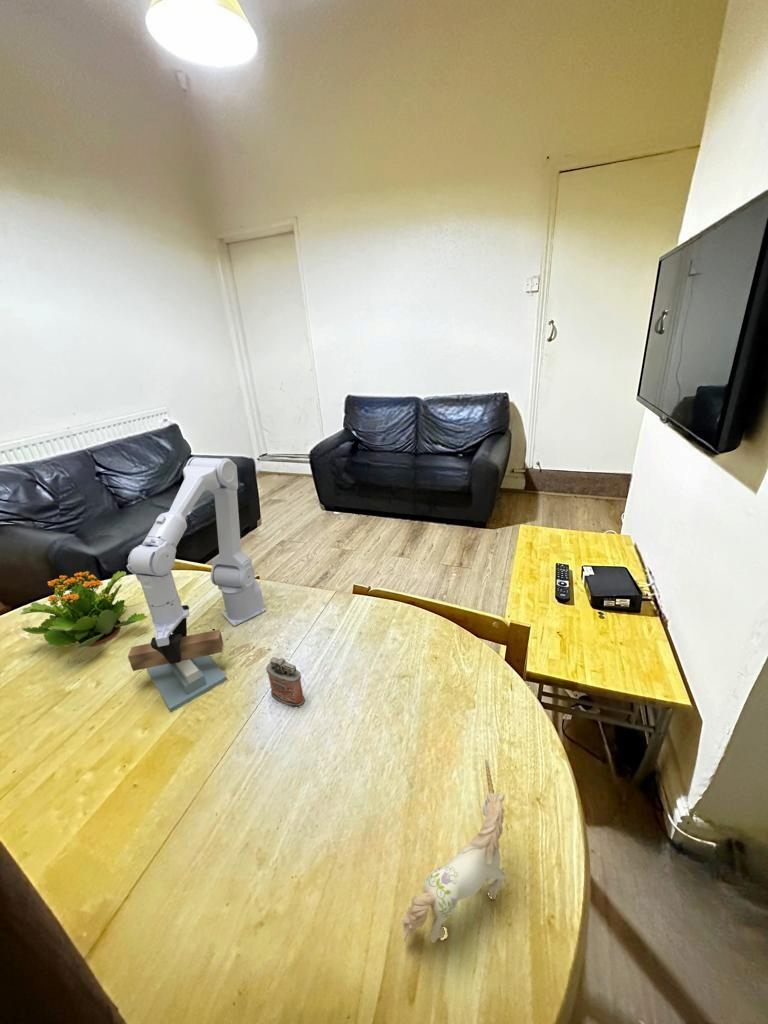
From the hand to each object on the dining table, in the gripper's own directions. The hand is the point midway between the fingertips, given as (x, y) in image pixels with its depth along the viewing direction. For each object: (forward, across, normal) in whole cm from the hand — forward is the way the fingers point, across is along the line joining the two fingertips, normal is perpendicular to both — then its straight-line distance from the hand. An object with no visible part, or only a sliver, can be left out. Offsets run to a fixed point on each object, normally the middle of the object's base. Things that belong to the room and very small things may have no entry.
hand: (178, 649), depth 90 cm
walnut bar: (+2, 0, 0) cm, 2 cm away
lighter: (+8, -13, -22) cm, 27 cm away
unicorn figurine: (+8, -52, -42) cm, 67 cm away
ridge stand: (+7, 0, 0) cm, 7 cm away
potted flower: (+8, +21, +24) cm, 33 cm away
